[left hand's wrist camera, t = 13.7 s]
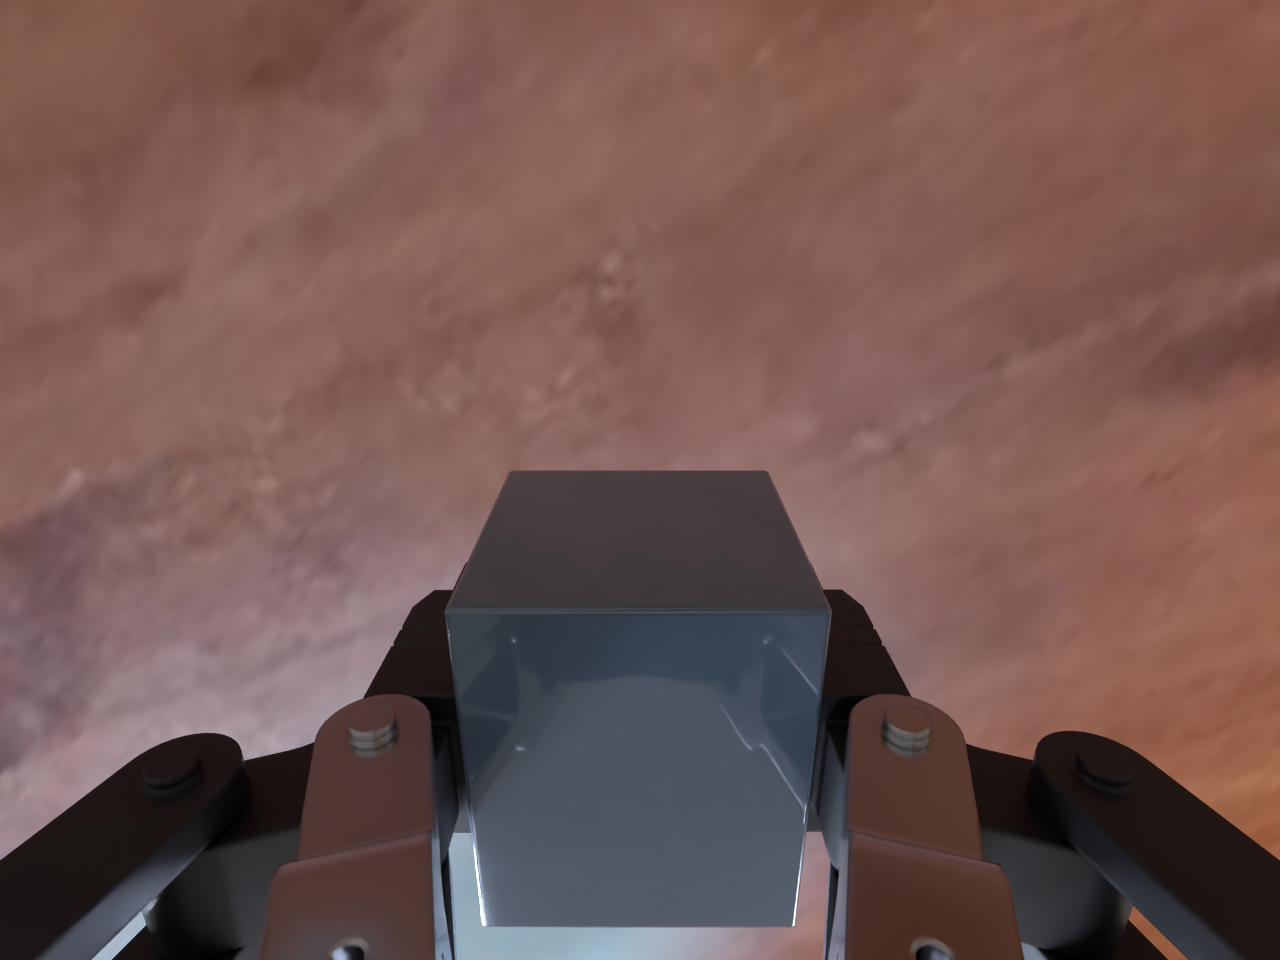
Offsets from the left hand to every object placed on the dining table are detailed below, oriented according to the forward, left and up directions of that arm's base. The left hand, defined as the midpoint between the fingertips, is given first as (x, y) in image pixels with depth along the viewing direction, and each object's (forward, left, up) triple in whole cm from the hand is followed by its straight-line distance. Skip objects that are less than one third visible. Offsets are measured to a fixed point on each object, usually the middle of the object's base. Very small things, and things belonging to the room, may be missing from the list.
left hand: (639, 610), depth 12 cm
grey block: (0, 0, 0) cm, 0 cm away
